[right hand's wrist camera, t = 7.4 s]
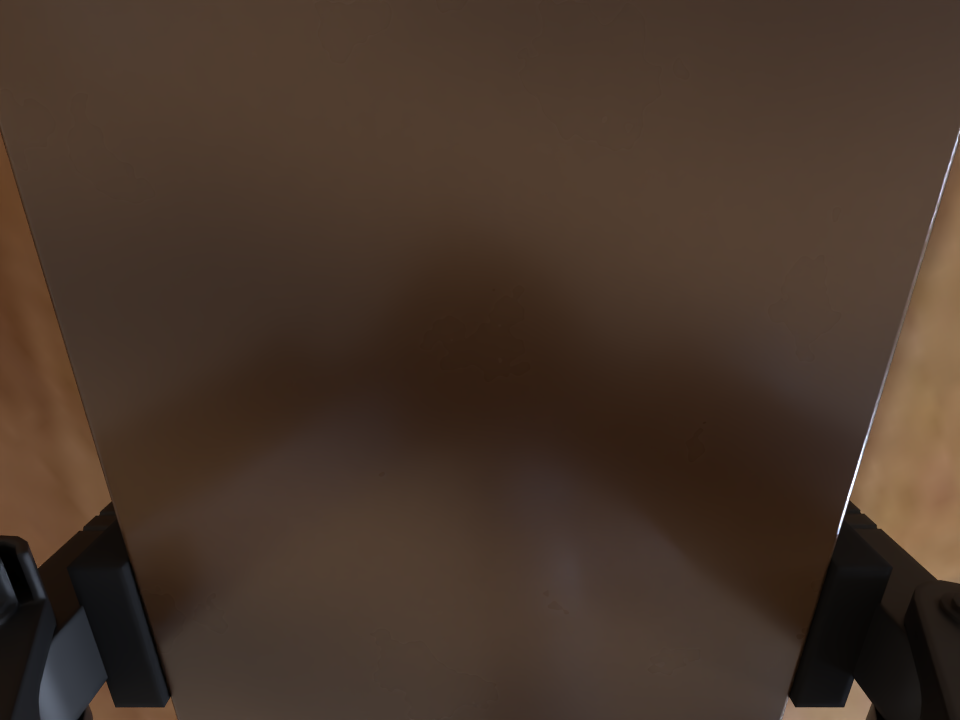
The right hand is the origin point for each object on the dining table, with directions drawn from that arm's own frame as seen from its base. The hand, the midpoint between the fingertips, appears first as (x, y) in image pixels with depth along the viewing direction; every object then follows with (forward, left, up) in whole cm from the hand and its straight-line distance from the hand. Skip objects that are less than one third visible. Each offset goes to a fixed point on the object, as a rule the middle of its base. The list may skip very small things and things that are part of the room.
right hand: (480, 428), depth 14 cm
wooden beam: (+8, -26, -1) cm, 28 cm away
